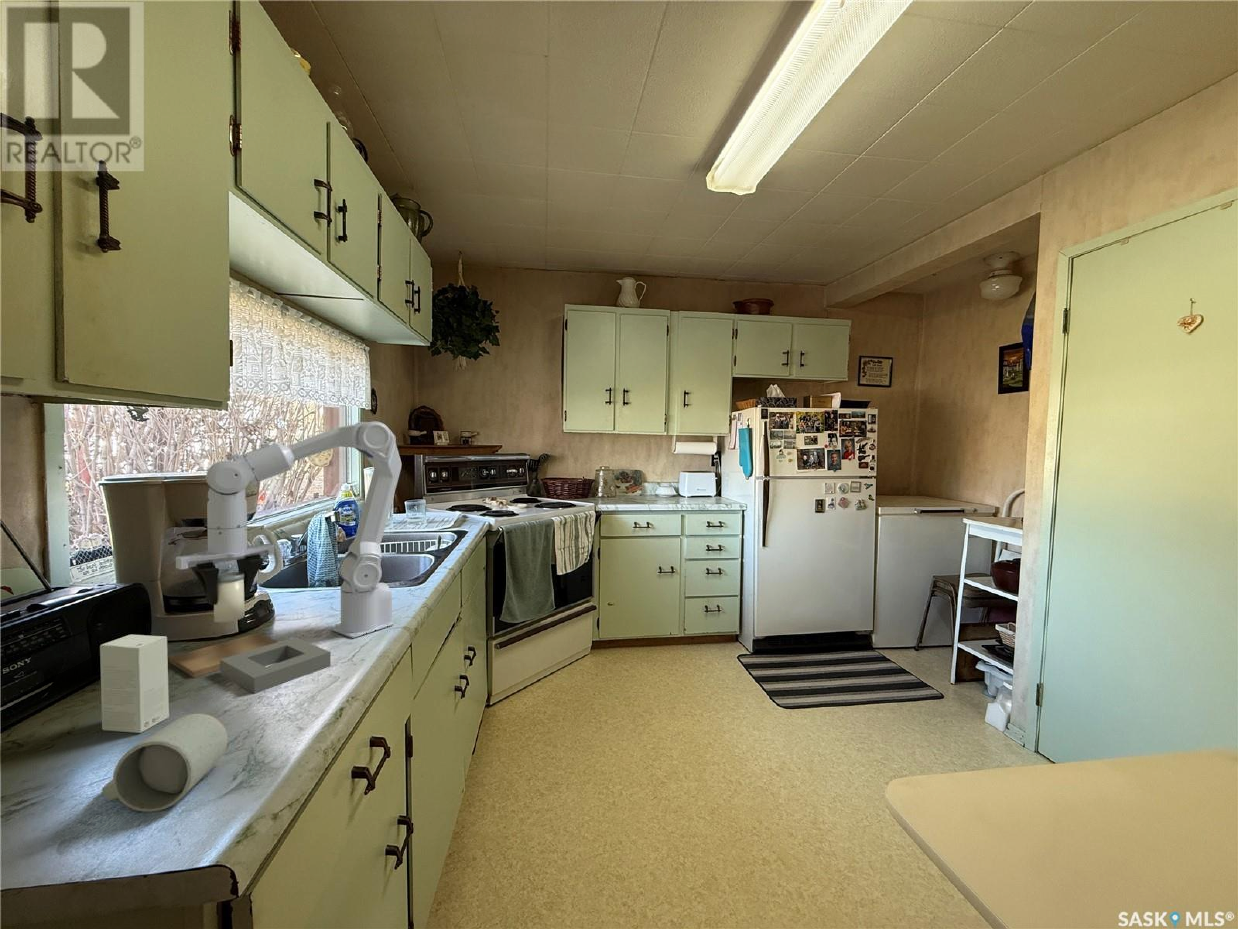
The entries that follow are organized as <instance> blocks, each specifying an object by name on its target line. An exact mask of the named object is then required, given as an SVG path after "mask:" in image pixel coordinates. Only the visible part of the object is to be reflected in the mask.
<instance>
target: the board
mask: <svg viewBox="0 0 1238 929" xmlns="http://www.w3.org/2000/svg"><path fill="white" fill-rule="evenodd" d="M277 642H279V641H278V640H276V639H273V638H271V637H269V636H266V635H264V634H262V633H260V632H257V633H253V634H249V635H246V636H241V637H238V638H235V639H230V640H227V641H224V642H220V643H217V644H213V645H210V646H206V647H205V646H204V647H202V648H201V647H200V648H199V649H195V650H192V651H191V650H190V651H188V652H184V653H180V654H177V655H176V654H175V655H173V656H170V657H169V664H171V665H173V666H175V667H176V668H177V669H179V670H181V671H182V672H184V673H185V674H187V675H189V676H191V677H192V678H198V677H200V676H204V675H206V674H210V673H213V672H216V671H219V670H220V659H224V658H227V657H230V656H233V655H237V654H240V653H243V652H247V651H250V650H253V649H257V648H260V647H263V646H267V645H270V644H273V643H277Z"/></svg>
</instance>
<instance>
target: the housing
mask: <svg viewBox="0 0 1238 929" xmlns="http://www.w3.org/2000/svg"><path fill="white" fill-rule="evenodd" d="M328 667H331V651H329V650H327V649H324V648H323V647H320V646H317V645H315V644H312V643H310V642H308V641H305V640H303V639H300V638H298V637H296V636H294V637H290V638H288V639H284V640H281V641H278V642H277V643H273V644H270V645H267V646H263V647H260V648H257V649H253V650H250V651H247V652H243V653H240V654H237V655H233V656H230V657H227V658H224V659H220V669H219V670H220V671H219V672H220V675H222V676H223V677H225V678H227V679H228V680H230V681H232V682H234V683H235V684H237V685H239V686H240V687H242V688H244V689H246V690H248V691H249V692H251V693H253V694H256V693H261V692H263V691H265V690H267V689H268V690H269V689H271V688H273V687H277V686H278V685H281V684H286V683H287V682H289V681H292V680H294V679H298V678H301V677H303V676H305V675H309V674H311V673H314V672H317V671H320V670H323V669H325V668H328Z"/></svg>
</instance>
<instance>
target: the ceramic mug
mask: <svg viewBox="0 0 1238 929" xmlns="http://www.w3.org/2000/svg"><path fill="white" fill-rule="evenodd" d="M228 744H229V735H228V730H227V727H226V726H225V724H224V722H223V721H222V720H220V719H219V718H218V717H216V716H215V715H212V714H208V713H204V712H198V713H197V712H196V713H191V714H188V715H185V716H182V717H180V718H178V719H175V720H173V721H172V722H170V723H169V724H167V725H166V726H164V727H163V728H161V729H160V730H159V731H157V732H155V733H154V734H152V735H151V736H149V737H148V738H145V739H144V740H143V741H141V742H140V743H138V744H136V745H135V746H133V747H132V748H130V749H129V750H128V751H127V752H126V753H125V754H123V755H122V757H121V758H120V759H119V761H118V763H117V764H116V765H115V768H114V771H113V774H112V779H111V780H109V781H108V782H107V783H106V784H104V786H103V787H102V789H101V791H102V793H103V795H104V798H105V799H106V800H107V801H108V802H110V801H113V800H116V799H119V801H120V802H121V803H122V804H123V805H124V806H126V807H128V808H130V809H132V810H134V811H139V812H142V813H144V812H145V813H153V812H159V811H163V810H166V809H168V808H170V807H172V806H174V805H175V804H177V803H178V802H179V801H180V800H181V799H182V798H183V797H184V796H186V795H187V793H188V792H189V791H190V790H191V789H193V787H194V786H195V785H196V784H197V783H198V782H200V780H201V779H203V777H204V776H205V775H207V774H208V772H210V770H212V769H213V767H215V766H216V765H217V764H218V762H219V761H220V760H221V758H222V756H223V755H224V754H225V751H226V749H227V747H228Z"/></svg>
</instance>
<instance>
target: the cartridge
mask: <svg viewBox="0 0 1238 929" xmlns="http://www.w3.org/2000/svg"><path fill="white" fill-rule="evenodd" d="M213 616H214V617H213V618H214V620H213V621H214V623H229V622H235V621H238V620H242V619H243V618H244V617H245V598H244V572H239V571H230V572H229V571H227V572H221V573H219V574H218V580H217V604H216V605H213Z"/></svg>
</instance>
